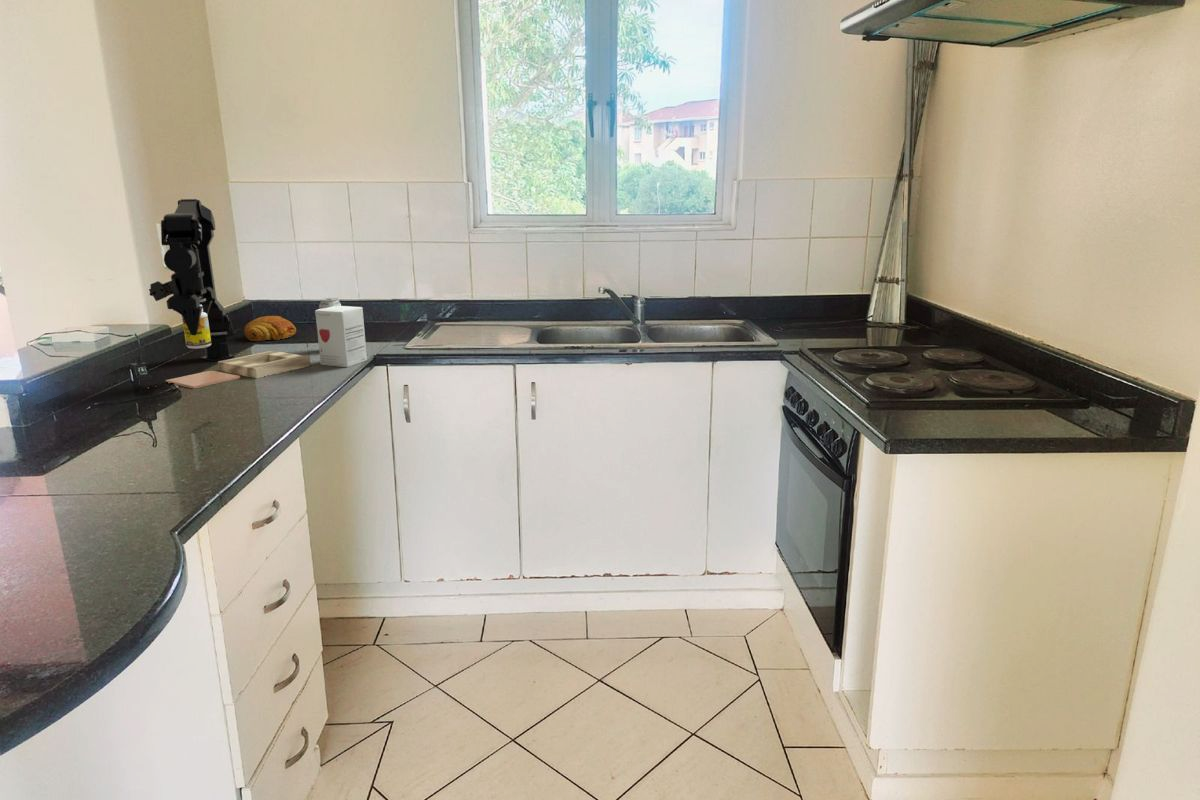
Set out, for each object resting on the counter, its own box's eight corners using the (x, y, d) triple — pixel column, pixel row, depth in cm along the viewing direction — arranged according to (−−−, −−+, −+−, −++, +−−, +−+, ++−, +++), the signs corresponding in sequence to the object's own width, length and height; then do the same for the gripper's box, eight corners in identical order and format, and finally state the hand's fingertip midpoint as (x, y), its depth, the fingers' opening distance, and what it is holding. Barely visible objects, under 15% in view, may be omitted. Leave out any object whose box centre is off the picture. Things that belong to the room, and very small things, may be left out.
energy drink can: (328, 353, 220) (323, 301, 216) (320, 350, 224) (315, 299, 220) (349, 350, 224) (343, 299, 220) (340, 347, 228) (335, 297, 224)
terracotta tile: (166, 382, 188) (165, 380, 188) (212, 372, 198) (211, 370, 198) (194, 388, 182) (193, 386, 182) (240, 378, 192) (239, 375, 192)
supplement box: (319, 365, 205) (313, 309, 201) (341, 358, 213) (335, 304, 209) (347, 367, 202) (341, 311, 198) (368, 360, 210) (363, 306, 206)
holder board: (219, 371, 200) (218, 361, 199) (273, 359, 213) (272, 350, 212) (257, 378, 192) (255, 368, 191) (310, 365, 205) (309, 356, 204)
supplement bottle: (182, 349, 185) (175, 307, 182) (192, 344, 191) (186, 303, 188) (206, 348, 186) (199, 306, 183) (215, 344, 191) (209, 303, 188)
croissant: (238, 347, 241) (231, 323, 237) (271, 332, 254) (265, 308, 251) (276, 348, 236) (269, 324, 233) (307, 332, 250) (302, 309, 247)
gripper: (162, 265, 190) (172, 327, 194) (136, 273, 172) (148, 341, 177) (210, 264, 192) (219, 325, 197) (190, 272, 175) (200, 339, 179)
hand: (197, 332), depth 187 cm, fingers closed on supplement bottle, 5 cm apart
